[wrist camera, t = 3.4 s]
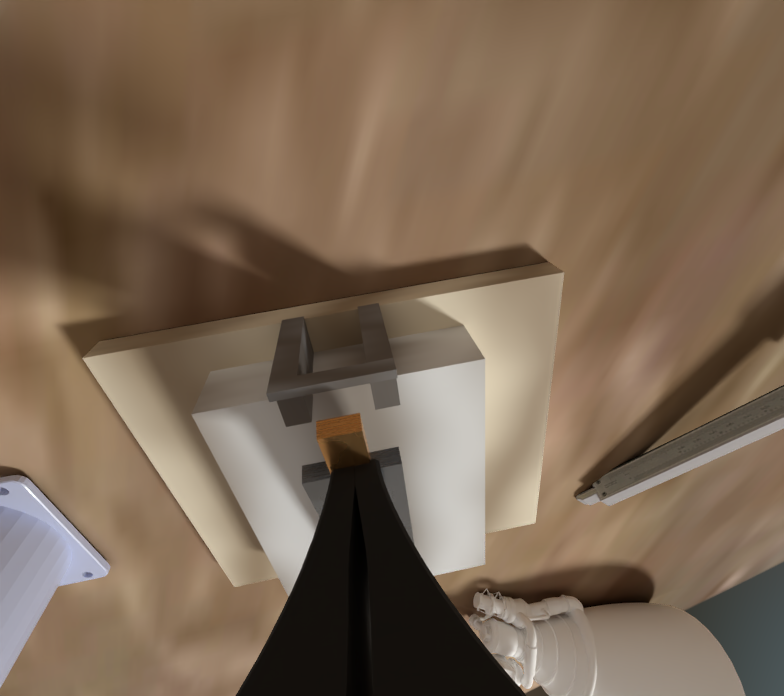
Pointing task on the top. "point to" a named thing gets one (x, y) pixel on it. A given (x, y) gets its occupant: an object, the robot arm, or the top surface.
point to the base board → (192, 349)
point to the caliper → (691, 450)
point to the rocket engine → (604, 648)
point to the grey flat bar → (353, 463)
